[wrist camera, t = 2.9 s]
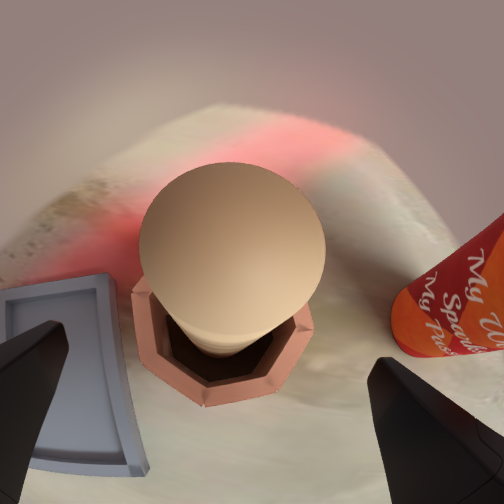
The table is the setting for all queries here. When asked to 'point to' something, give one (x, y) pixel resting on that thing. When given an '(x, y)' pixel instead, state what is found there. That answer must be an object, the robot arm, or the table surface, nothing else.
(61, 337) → the robot arm
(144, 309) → the pot
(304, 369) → the table surface
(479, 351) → the paper cup
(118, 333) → the slate tray
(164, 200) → the oak peg
